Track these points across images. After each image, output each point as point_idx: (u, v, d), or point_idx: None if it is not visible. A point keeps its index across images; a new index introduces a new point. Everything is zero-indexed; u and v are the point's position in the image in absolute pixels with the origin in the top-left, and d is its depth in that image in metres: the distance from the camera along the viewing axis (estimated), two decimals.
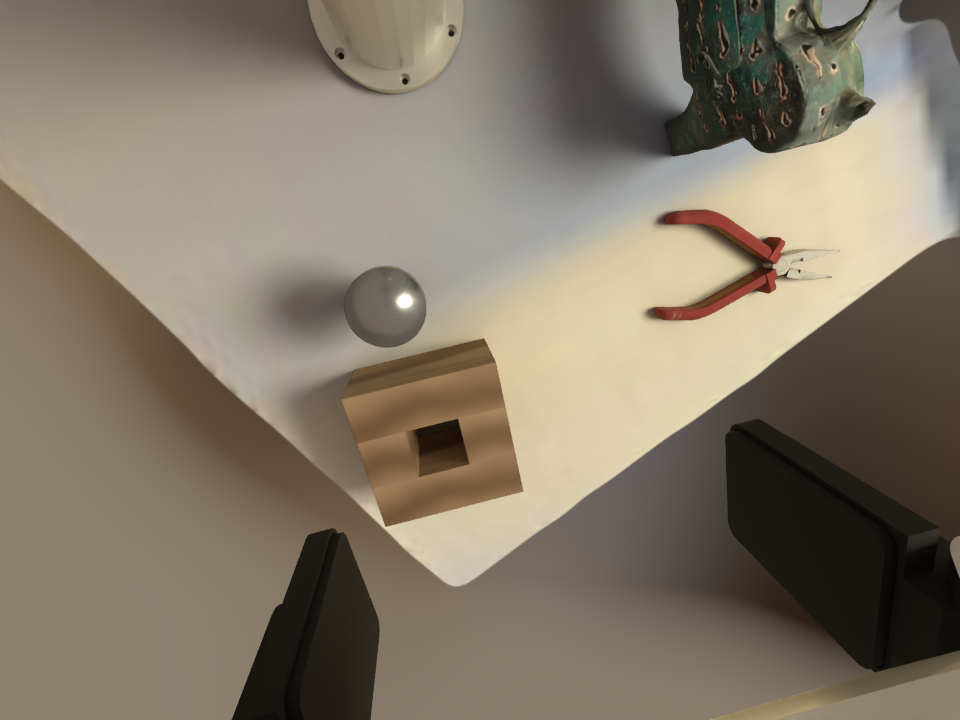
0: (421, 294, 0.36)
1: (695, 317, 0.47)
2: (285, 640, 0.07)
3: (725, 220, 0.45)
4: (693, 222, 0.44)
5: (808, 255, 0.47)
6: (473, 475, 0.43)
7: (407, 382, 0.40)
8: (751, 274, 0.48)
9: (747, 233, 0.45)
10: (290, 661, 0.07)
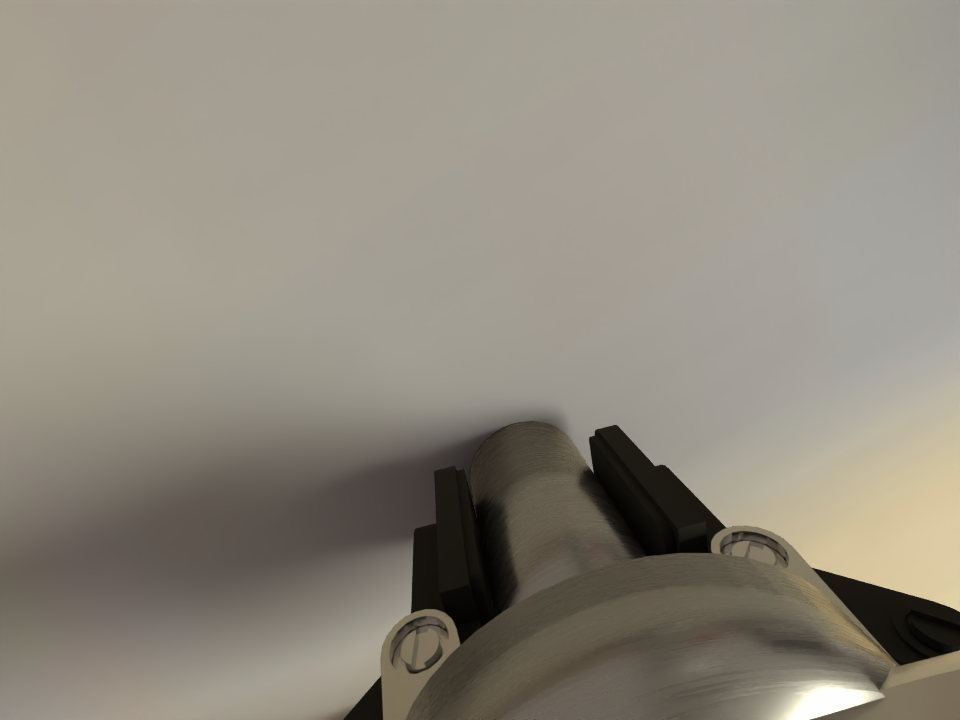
0: None
1: None
2: (452, 541, 0.08)
3: None
4: None
5: None
6: None
7: None
8: None
9: None
10: (465, 553, 0.08)
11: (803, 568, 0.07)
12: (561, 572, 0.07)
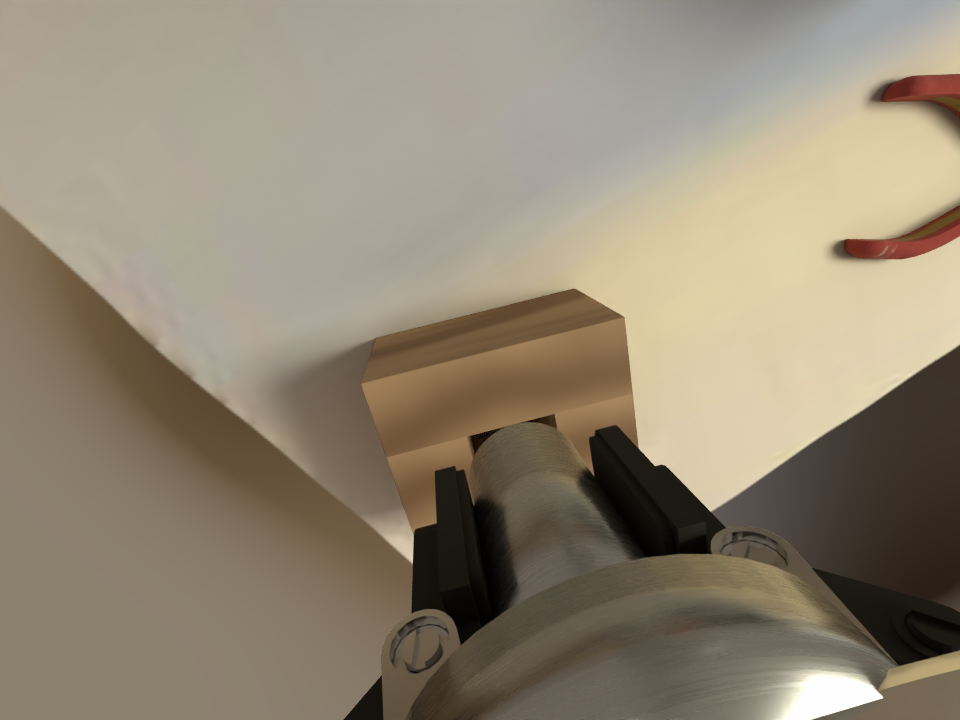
0: None
1: (914, 253, 0.31)
2: (452, 541, 0.08)
3: None
4: (942, 92, 0.27)
5: None
6: None
7: (472, 353, 0.23)
8: None
9: None
10: (465, 553, 0.08)
11: (803, 568, 0.07)
12: (559, 573, 0.07)
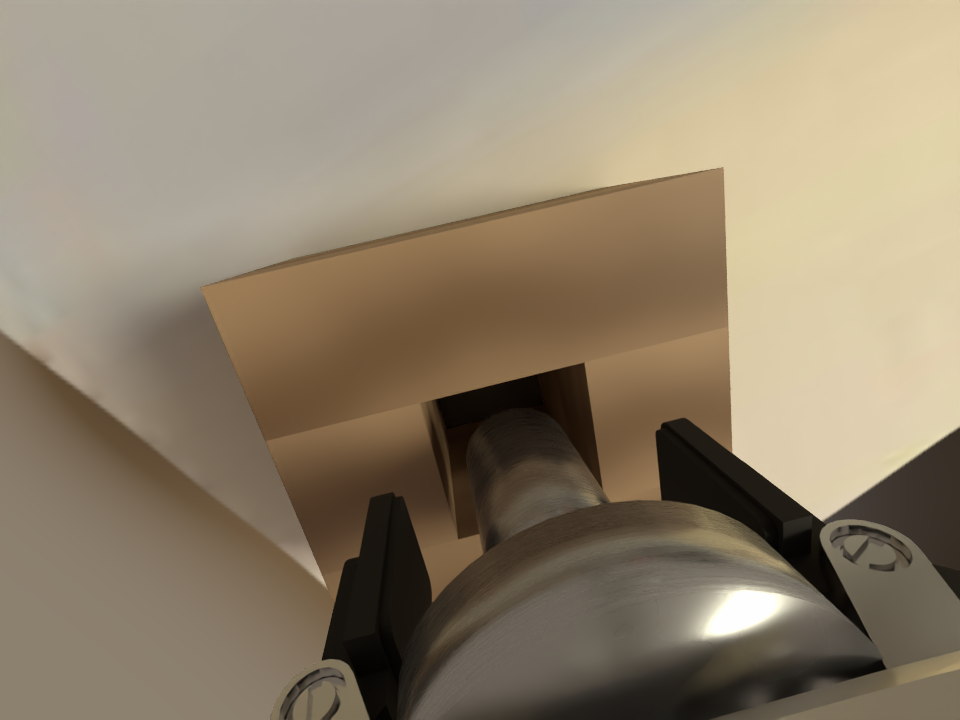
0: None
1: None
2: (370, 580, 0.08)
3: None
4: None
5: None
6: None
7: (428, 234, 0.12)
8: None
9: None
10: (379, 595, 0.08)
11: (928, 572, 0.06)
12: None
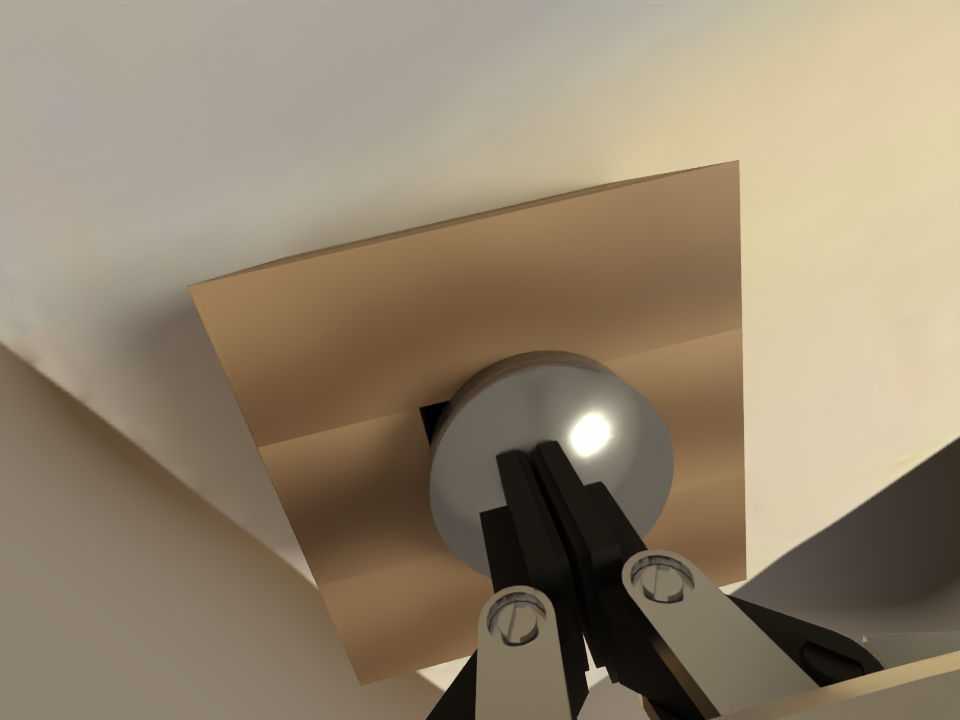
0: (666, 442, 0.12)
1: None
2: (531, 521, 0.08)
3: None
4: None
5: None
6: None
7: (427, 230, 0.11)
8: None
9: None
10: (547, 532, 0.08)
11: (708, 586, 0.07)
12: None
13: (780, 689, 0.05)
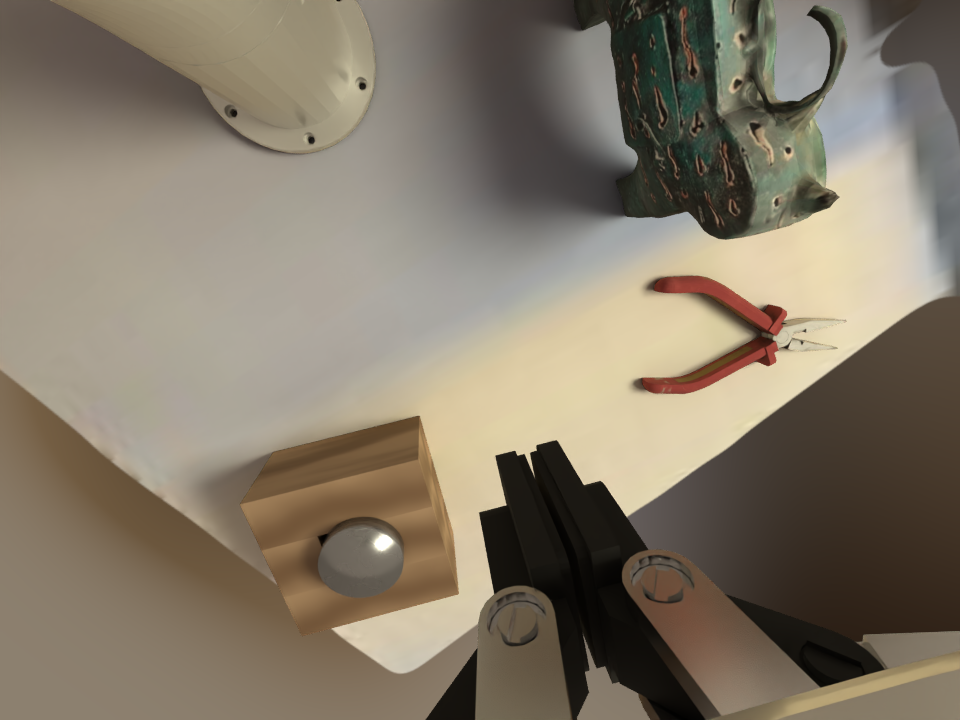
0: (398, 549, 0.35)
1: (686, 391, 0.43)
2: (531, 521, 0.08)
3: (721, 289, 0.40)
4: (685, 291, 0.39)
5: (812, 326, 0.43)
6: (400, 578, 0.38)
7: (316, 482, 0.35)
8: (749, 344, 0.44)
9: (746, 303, 0.41)
10: (546, 533, 0.08)
11: (708, 586, 0.07)
12: None
13: (780, 689, 0.05)
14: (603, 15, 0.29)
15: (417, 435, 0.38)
